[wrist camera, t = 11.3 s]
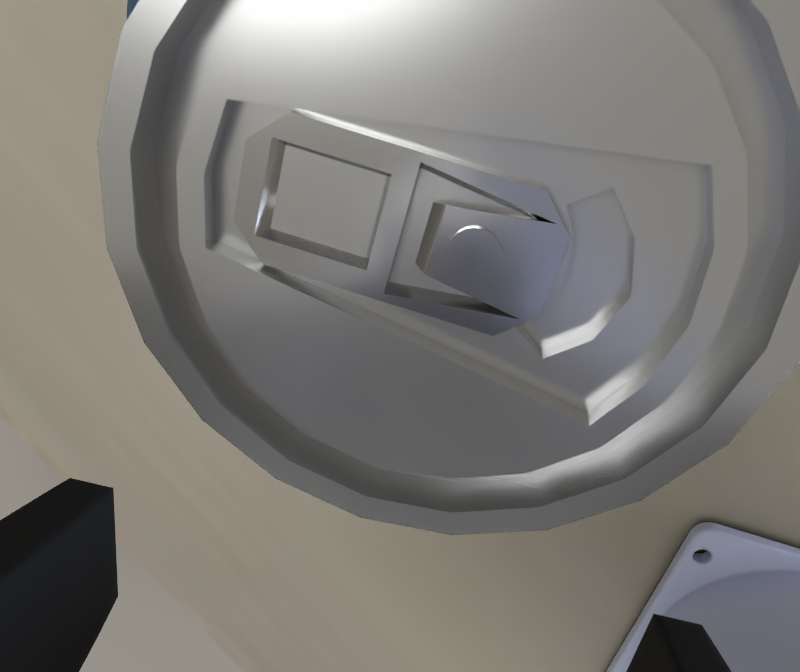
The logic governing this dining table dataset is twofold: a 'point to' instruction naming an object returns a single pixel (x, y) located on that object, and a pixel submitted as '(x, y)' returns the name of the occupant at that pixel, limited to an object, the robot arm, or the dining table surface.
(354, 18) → the beer can
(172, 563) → the dining table surface
